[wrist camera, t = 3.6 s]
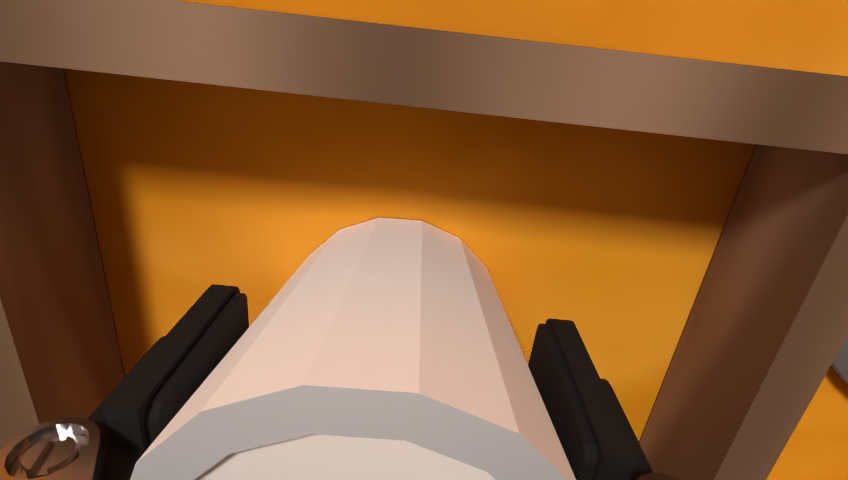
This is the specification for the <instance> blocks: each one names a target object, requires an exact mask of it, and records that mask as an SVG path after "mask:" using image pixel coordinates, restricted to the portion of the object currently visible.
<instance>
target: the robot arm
mask: <svg viewBox="0 0 848 480" xmlns="http://www.w3.org/2000/svg"><path fill="white" fill-rule="evenodd" d="M248 328H249V322H248V305H247V296H246V294H244V293H240V290H239V288H238V287H235V286H225V285H215V284H214V285H211V286H210V287H209V288H208V289H207V290H206V291H205V292H204V294H203V295H202V296H201V297H200V298H199V299H198V300H197V301H196V303H195V304H194V305H193V306H192V307H191V308H190V309H189V310H188V311H187V313H186V314H185V315H184V316H183V317H182V318H181V319H180V320H179V322H178V323H177V324H176V325H175V326H174V327H173V328H172V329H171V331H170V332H169V333H168V334H167V335H166V336H164V337H162V338H160V339H159V340H158V341H157V342H156V343H155V344H154V345H153V346H152V347H151V349H150V350H149V351H148V352H147V353H146V354H145V355H144V356H143V357H142V359H141V360H140V361H139V362H138V363H137V364H136V365H135V366H134V367H133V369H132V370H131V371H130V372H129V373H128V374H127V375H126V376H125V377H124V378H123V380H122V381H121V382H120V383H119V384H118V385H117V386H116V387H115V388H114V390H113V391H112V392H111V393H110V394H109V395H108V396H107V397H106V398H105V400H104V401H103V402H102V403H101V404H100V405H99V406H98V407H97V408H96V409H95V411H94V412H93V413H92V414H91V415H90V416H89V417H88V418H87V419H86V418H79V417H66V418H58V419H54V420H51V421H47V422H44V423H41V424H39V425H37V426H34V427H32V428H30V429H28V430H26V431H24V432H23V433H21V434H20V435H18V436H17V437H15V438H13V439H12V440H11V441H10V442H9V443H8V444H7V445H6V446H4V447H3V448H2V449H1V450H0V480H130V479H131V476H132V473H133V470H134V467H135V464H136V462H137V461H138V460H139V458H140V457H141V456H142V455H143V454H144V452H145V451H146V450H147V449H148V448H149V446H150V445H151V444H152V443H153V442H154V440H155V439H156V438H157V437H158V436H159V434H160V433H161V432H162V431H163V430H164V429H165V427H166V426H167V425H168V424H169V423H170V421H171V420H172V419H173V418H174V417H175V415H176V414H177V413H178V412H179V411H180V409H181V408H182V407H183V406H184V405H185V403H186V402H187V401H188V400H189V399H190V397H191V396H192V395H193V394H194V393H195V391H196V390H197V389H198V388H199V387H200V385H201V384H202V383H203V382H204V381H205V379H206V378H207V377H208V376H209V375H210V374H211V372H212V371H213V370H214V369H215V368H216V366H217V365H218V364H219V363H220V362H221V360H222V359H223V358H224V357H225V356H226V354H227V353H228V352H229V351H230V350H231V348H232V347H233V346H234V345H235V344H236V342H237V341H238V340H239V339H240V338H241V336H242V335H243V334H244V333H245V332H246V330H247V329H248ZM528 367H529V369H530V372H531V374H532V376H533V379H534V381H535V384H536V386H537V388H538V391H539V393H540V395H541V398H542V400H543V403H544V405H545V407H546V410H547V412H548V414H549V417H550V419H551V422H552V424H553V426H554V429H555V431H556V433H557V436H558V438H559V440H560V443H561V445H562V448H563V450H564V452H565V455H566V457H567V459H568V462H569V464H570V467H571V469H572V471H573V474H574V476H575V478H576V480H680V479H678V478H676V477H673V476H670V475H667V474H663V473H653V471H652V468H651V466H650V464H649V462H648V460H647V458H646V456H645V454H644V452H643V450H642V448H641V446H640V444H639V442H638V440H637V438H636V436H635V434H634V432H633V430H632V428H631V426H630V423H629V421H628V419H627V417H626V415H625V413H624V411H623V409H622V407H621V405H620V403H619V401H618V399H617V397H616V395H615V393H614V391H613V389H612V387H611V385H610V384H609V382H608V381H607V380H605V379H600V377H599V375H598V373H597V371H596V369H595V367H594V365H593V362H592V360H591V358H590V356H589V354H588V352H587V350H586V348H585V345H584V343H583V341H582V339H581V337H580V335H579V333H578V330H577V328H576V326H575V324H574V322H573V321H569V320H559V319H548V320H547V321H546V324H539V325H538V328H537V331H536V335H535V340H534V344H533V348H532V352H531V356H530V360H529V364H528Z"/></svg>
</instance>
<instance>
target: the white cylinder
mask: <svg viewBox="0 0 848 480" xmlns="http://www.w3.org/2000/svg"><path fill="white" fill-rule="evenodd" d="M130 480H576V478H575V476H574V474H573V471H572V469H571V467H570V464H569V462H568V459H567V457H566V455H565V452H564V450H563V448H562V445H561V443H560V440H559V438H558V436H557V433H556V431H555V429H554V426H553V424H552V422H551V419H550V417H549V414H548V412H547V410H546V407H545V405H544V403H543V400H542V398H541V395H540V393H539V391H538V388H537V386H536V384H535V381H534V379H533V376H532V374H531V372H530V369H529V367H528V365H527V362H526V360H525V358H524V355H523V353H522V350H521V348H520V346H519V343H518V341H517V339H516V336H515V334H514V331H513V329H512V327H511V324H510V322H509V320H508V317H507V315H506V312H505V310H504V308H503V305H502V303H501V301H500V298H499V296H498V294H497V291H496V289H495V286H494V284H493V282H492V279H491V277H490V275H489V272H488V270H487V267H486V266H485V265H484V264H483V263H482V262H481V261H480V260H479V259H478V258H477V257H476V255H475V254H474V253H473V252H472V251H471V250H470V249H469V248H468V247H467V246H466V244H465V243H464V242H463V241H462V240H461V239H460V238H458V237H456V236H454V235H451V234H449V233H447V232H445V231H443V230H441V229H439V228H437V227H434V226H432V225H430V224H428V223H426V222H424V221H420V220H406V219H392V218H376V219H372V220H369V221H366V222H363V223H360V224H356V225H353V226H350V227H347V228H343V229H340V230H338V231H337V232H336V233H335V234H334V235H332V236H331V237H330V238H329V239H328V240H327V241H325V242H324V243H323V244H322V245H321V246H319V247H318V248H317V249H316V250H315V251H314V252H312V253H311V254H310V255H309V256H308V258H307V259H306V260H305V261H304V262H303V264H302V265H301V266H300V267H299V268H298V269H297V271H296V272H295V273H294V274H293V275H292V277H291V278H290V279H289V280H288V281H287V283H286V284H285V285H284V286H283V287H282V289H281V290H280V291H279V292H278V293H277V295H276V296H275V297H274V298H273V299H272V301H271V302H270V303H269V304H268V305H267V307H266V308H265V309H264V310H263V311H262V313H261V314H260V315H259V316H258V317H257V319H256V320H255V321H254V322H253V323H252V324H251V326H250V327H249V328H248V329H247V330H246V332H245V333H244V334H243V335H242V336H241V338H240V339H239V340H238V341H237V342H236V344H235V345H234V346H233V347H232V348H231V350H230V351H229V352H228V353H227V354H226V356H225V357H224V358H223V359H222V360H221V362H220V363H219V364H218V365H217V366H216V368H215V369H214V370H213V371H212V372H211V374H210V375H209V376H208V377H207V378H206V379H205V381H204V382H203V383H202V384H201V385H200V387H199V388H198V389H197V390H196V391H195V393H194V394H193V395H192V396H191V397H190V399H189V400H188V401H187V402H186V403H185V405H184V406H183V407H182V408H181V409H180V411H179V412H178V413H177V414H176V415H175V417H174V418H173V419H172V420H171V421H170V423H169V424H168V425H167V426H166V427H165V429H164V430H163V431H162V432H161V433H160V434H159V436H158V437H157V438H156V439H155V440H154V442H153V443H152V444H151V445H150V446H149V448H148V449H147V450H146V451H145V452H144V454H143V455H142V456H141V457H140V458H139V460H138V461H137V462H136V464H135V467H134V470H133V473H132V476H131V479H130Z"/></svg>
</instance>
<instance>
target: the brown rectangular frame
mask: <svg viewBox="0 0 848 480" xmlns="http://www.w3.org/2000/svg"><path fill="white" fill-rule="evenodd" d="M63 68H65V69H74V70H84V71H93V72H102V73H111V74H120V75H129V76H138V77H147V78H157V79H166V80H175V81H184V82H193V83H202V84H211V85H220V86H230V87H239V88H248V89H257V90H266V91H275V92H284V93H293V94H302V95H312V96H321V97H330V98H339V99H348V100H357V101H366V102H375V103H385V104H394V105H403V106H412V107H421V108H430V109H439V110H448V111H458V112H467V113H476V114H485V115H494V116H503V117H512V118H521V119H530V120H540V121H549V122H558V123H567V124H576V125H585V126H594V127H603V128H613V129H622V130H631V131H640V132H649V133H658V134H667V135H676V136H686V137H695V138H704V139H713V140H722V141H731V142H740V143H749V144H757V145H756V148H755V150H754V153H753V155H752V158H751V161H750V163H749V166H748V168H747V171H746V173H745V176H744V178H743V181H742V183H741V186H740V188H739V191H738V193H737V196H736V199H735V201H734V204H733V206H732V209H731V211H730V214H729V216H728V219H727V221H726V224H725V226H724V229H723V231H722V234H721V237H720V239H719V242H718V244H717V247H716V249H715V252H714V254H713V257H712V259H711V262H710V264H709V267H708V270H707V272H706V275H705V277H704V280H703V282H702V285H701V287H700V290H699V292H698V295H697V297H696V300H695V302H694V305H693V308H692V310H691V313H690V315H689V318H688V320H687V323H686V325H685V328H684V330H683V333H682V335H681V338H680V340H679V343H678V346H677V348H676V351H675V353H674V356H673V358H672V361H671V363H670V366H669V368H668V371H667V373H666V376H665V378H664V381H663V384H662V386H661V389H660V391H659V394H658V396H657V399H656V401H655V404H654V406H653V409H652V411H651V414H650V417H649V419H648V422H647V424H646V427H645V429H644V432H643V434H642V437H641V439H640V442H639V444H640V446H641V448H642V450H643V452H644V454H645V456H646V458H647V460H648V462H649V464H650V466H651V468H652V471H653V473H663V474H667V475H670V476H673V477H676V478H678V479H680V480H766V479H767V477H768V475H769V473H770V472H771V470H772V468H773V466H774V465H775V463H776V461H777V459H778V458H779V456H780V454H781V452H782V451H783V449H784V447H785V445H786V444H787V442H788V440H789V438H790V437H791V435H792V433H793V431H794V429H795V428H796V426H797V424H798V422H799V421H800V419H801V417H802V415H803V414H804V412H805V410H806V408H807V407H808V405H809V403H810V401H811V400H812V398H813V396H814V394H815V393H816V391H817V389H818V387H819V386H820V384H821V382H822V380H823V379H824V377H825V375H826V373H827V372H828V370H829V368H830V366H831V365H832V363H833V361H834V359H835V358H836V356H837V354H838V352H839V350H840V349H841V347H842V345H843V343H844V342H845V340H846V338H847V336H848V77H847V76H839V75H830V74H821V73H812V72H803V71H794V70H785V69H776V68H768V67H759V66H750V65H741V64H732V63H723V62H714V61H705V60H697V59H688V58H679V57H670V56H661V55H652V54H643V53H634V52H626V51H617V50H608V49H599V48H590V47H581V46H572V45H563V44H555V43H546V42H537V41H528V40H519V39H510V38H501V37H492V36H484V35H475V34H466V33H457V32H448V31H439V30H430V29H421V28H413V27H404V26H395V25H386V24H377V23H368V22H359V21H351V20H342V19H333V18H324V17H315V16H306V15H297V14H288V13H280V12H271V11H262V10H253V9H244V8H235V7H226V6H217V5H209V4H200V3H191V2H182V1H173V0H0V450H1V449H2V448H3V447H4V446H6V445H7V444H8V443H9V442H10V441H11V440H12V439H13V438H15V437H17V436H18V435H20V434H21V433H23V432H24V431H26V430H28V429H30V428H32V427H34V426H37V425H39V424H41V423H44V422H47V421H51V420H54V419H58V418H66V417H79V418H86V419H87V418H88V417H89V416H90V415H91V414H92V413H93V412H94V411H95V409H96V408H97V407H98V406H99V405H100V404H101V403H102V402H103V401H104V400H105V398H106V397H107V396H108V395H109V394H110V393H111V392H112V391H113V390H114V388H115V387H116V386H117V385H118V384H119V383H120V382H121V381H122V380H123V378H124V377H125V376H124V371H123V366H122V361H121V356H120V351H119V346H118V341H117V336H116V331H115V326H114V321H113V316H112V311H111V306H110V301H109V296H108V291H107V286H106V281H105V276H104V271H103V266H102V261H101V256H100V251H99V246H98V241H97V236H96V231H95V226H94V221H93V215H92V210H91V205H90V200H89V195H88V190H87V185H86V180H85V175H84V170H83V165H82V160H81V155H80V150H79V145H78V140H77V135H76V130H75V125H74V120H73V115H72V110H71V105H70V100H69V95H68V90H67V85H66V80H65V75H64V70H63Z"/></svg>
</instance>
